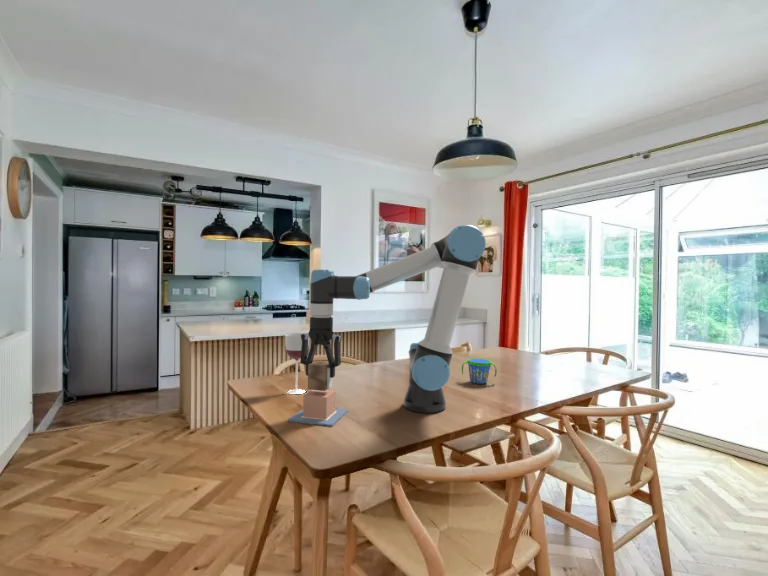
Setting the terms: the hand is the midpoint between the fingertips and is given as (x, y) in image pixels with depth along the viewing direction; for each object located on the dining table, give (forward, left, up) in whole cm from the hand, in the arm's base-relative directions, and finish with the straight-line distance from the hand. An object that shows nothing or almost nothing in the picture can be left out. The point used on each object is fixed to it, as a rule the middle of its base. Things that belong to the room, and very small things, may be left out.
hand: (320, 386), depth 127 cm
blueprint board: (0, 0, -10) cm, 10 cm away
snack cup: (-51, -63, -10) cm, 82 cm away
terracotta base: (0, 0, -9) cm, 9 cm away
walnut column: (0, 0, 0) cm, 0 cm away
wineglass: (+20, -23, -10) cm, 32 cm away
